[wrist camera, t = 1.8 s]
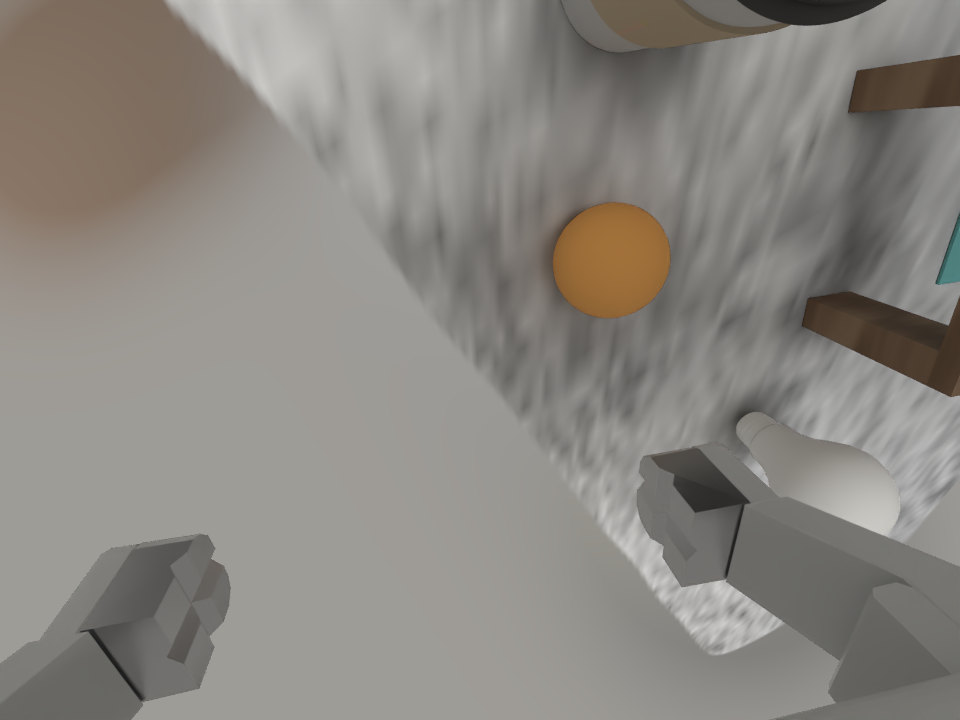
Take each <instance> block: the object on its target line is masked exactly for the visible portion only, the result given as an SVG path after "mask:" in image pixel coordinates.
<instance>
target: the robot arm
mask: <svg viewBox="0 0 960 720" xmlns="http://www.w3.org/2000/svg"><path fill="white" fill-rule="evenodd" d="M639 473H640V474H641V476H642V477H643V479H644V480H645V481H644V482H643V484H642V485H641V486H640V487H639V489H638V490H637V507H638V512H639V516H640V519H641V521H642V524H643V526H644V528H645V530H646V531H647V533H648V535H649V536H650V538H651V539H653V540H655V541H657V542H658V543H660V544H662V545H664V549H663V556H662V557H663V559H664V560H665V562H666V563H667V565H668V566H669V568H670V570H671V571H672V573H673V574H674V576H675V577H676V579H677V580H678V582H679V584H680V585H681V587H686V586H691V585H697V584H703V583H708V582H714V581H719V580H725V579H727V580H726V582H727V583H729V584H730V585H732V586H733V587H734V588H736V589H737V590H739V591H740V592H742V593H743V594H744V595H746V596H747V597H749V598H750V599H752V600H753V601H755V602H756V603H757V604H759V605H760V606H762V607H763V608H765V609H766V610H767V611H769V612H770V613H772V614H773V615H775V616H776V617H778V618H779V619H780V620H782V621H783V622H785V623H786V624H788V625H789V626H790V627H792V628H794V629H795V630H796V631H798V632H799V633H801V634H802V635H803V636H805V637H806V638H808V639H809V640H811V641H812V642H814V643H815V644H816V645H818V646H819V647H821V648H822V649H823V650H825V651H826V652H828V653H829V654H831V655H832V656H834V657H835V658H836V659H838V660H839V663H838V665H837V667H836V669H835V672H834V674H833V676H832V678H831V680H830V683H829V690H828V693H829V694H830V695H831V697H832V698H833V699H834V701H835V702H836V703H835V704H831V705H827V706H823V707H819V708H815V709H811V710H807V711H803V712H799V713H795V714H791V715H787V716H783V717H779V718H775V719H771V720H960V567H959V566H956V565H954V564H952V563H949V562H947V561H944V560H942V559H939V558H937V557H934V556H932V555H930V554H927V553H925V552H922V551H920V550H917V549H915V548H912V547H910V546H908V545H905V544H903V543H900V542H898V541H895V540H893V539H891V538H888V537H886V536H883V535H881V534H878V533H876V532H873V531H871V530H868V529H866V528H864V527H861V526H859V525H856V524H854V523H851V522H849V521H846V520H844V519H842V518H839V517H837V516H834V515H832V514H829V513H827V512H824V511H822V510H819V509H817V508H815V507H812V506H810V505H807V504H805V503H802V502H800V501H797V500H795V499H793V498H790V497H783V498H780V497H778V496H777V495H776V494H775V493H774V492H773V491H772V490H771V489H770V488H769V487H768V486H767V485H766V484H765V483H764V482H762V481H761V480H760V479H759V478H758V477H757V476H756V475H755V474H754V473H753V472H752V471H751V470H750V469H749V468H747V467H746V466H745V465H744V464H743V463H742V462H741V461H740V460H739V459H738V458H737V457H736V456H735V455H734V454H732V453H731V452H730V451H729V450H728V449H727V448H726V447H725V446H724V445H722V444H720V443H717V442H714V443H709V444H704V445H699V446H694V447H691V448H685V449H680V450H674V451H669V452H663V453H658V454H652V455H647V456H643V458H642V460H641V462H640V470H639ZM214 550H215V547H214V545H213V543H212V542H211V540H210V538H209V536H208V535H203V534H197V535H191V536H184V537H177V538H171V539H165V540H158V541H151V542H145V543H141V544H136V545H129V546H123V547H116V548H111V549H109V550H108V551H106V552H104V553H103V554H101V555H100V557H99V558H98V559H97V561H96V562H95V564H94V565H93V567H92V568H91V569H90V571H89V572H88V573H87V575H86V576H85V577H84V579H83V580H82V582H81V583H80V584H79V586H78V587H77V589H76V590H75V591H74V593H73V594H72V595H71V597H70V598H69V600H68V601H67V602H66V604H65V605H64V607H63V608H62V609H61V611H60V612H59V614H58V615H57V616H56V618H55V619H54V621H53V622H52V623H51V625H50V626H49V627H48V629H47V630H46V632H45V633H44V634H43V636H42V637H41V639H40V640H39V641H34V642H30V643H27V644H26V645H24V646H23V647H22V648H20V649H19V650H18V651H16V652H15V653H14V654H13V655H11V656H10V657H8V658H7V659H6V660H4V661H3V662H2V663H0V720H131V719H132V718H133V717H134V715H135V714H136V713H137V712H138V711H139V710H140V708H141V707H142V706H143V703H142V702H145V701H149V700H154V699H158V698H161V697H166V696H170V695H174V694H178V693H183V692H187V691H191V690H195V689H199V688H200V685H201V682H202V680H203V677H204V674H205V671H206V669H207V666H208V663H209V661H210V658H211V655H212V652H213V650H214V645H213V643H212V641H211V638H210V635H211V634H212V633H213V632H214V631H215V630H216V629H217V628H218V627H219V626H220V625H221V624H222V623H223V622H224V619H225V616H226V613H227V610H228V607H229V600H230V589H231V588H230V582H229V577H228V574H227V572H226V570H225V567H224V566H223V565H221V564H219V563H217V562H216V561H214V560H212V559H211V557H212V555H213V553H214Z"/></svg>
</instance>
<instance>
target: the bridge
mask: <svg viewBox="0 0 960 720" xmlns="http://www.w3.org/2000/svg"><path fill="white" fill-rule="evenodd" d="M947 106H960V55H957V56H950V57H944V58H937V59H931V60H924V61H918V62H911V63H905V64H898V65H892V66H885V67H879V68H872V69H866V70H859V71H857V75H856V79H855V84H854V89H853V93H852V98H851V102H850V107H849V112H866V111H882V110H898V109H914V108H931V107H947ZM849 112H848V113H849ZM802 326H803V327H805V328H808V329H810V330H812V331H814V332H816V333H818V334H820V335H822V336H824V337H826V338H828V339H831V340H833V341H835V342H837V343H839V344H841V345H843V346H845V347H847V348H849V349H851V350H853V351H856V352H858V353H860V354H862V355H864V356H866V357H868V358H870V359H872V360H874V361H876V362H879V363H881V364H883V365H885V366H887V367H889V368H891V369H893V370H895V371H897V372H899V373H902V374H904V375H906V376H908V377H910V378H912V379H914V380H916V381H918V382H920V383H922V384H924V385H927V386H929V387H931V388H933V389H935V390H937V391H939V392H941V393H943V394H945V395H947V396H950V397H954V396H959V395H960V297H959V300H958V302H957V305H956V308H955V310H954V313H953V316H952V318H951V321H950V324H949V326H948V325H945V324H942V323H939V322H936V321H933V320H930V319H927V318H925V317H922V316H919V315H916V314H913V313H910V312H907V311H904V310H902V309H899V308H896V307H893V306H890V305H887V304H884V303H881V302H879V301H876V300H873V299H870V298H867V297H864V296H861V295H858V294H856V293H853V292H844V293H838V294H832V295H826V296H820V297H814V298H808V301H807V306H806V310H805V315H804V320H803V324H802Z"/></svg>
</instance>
